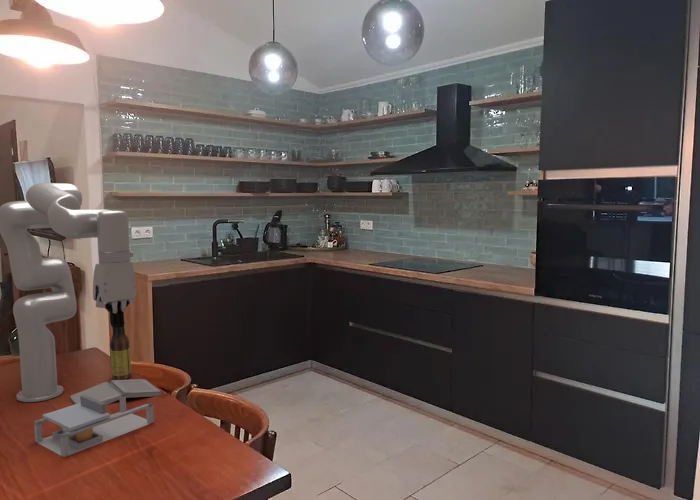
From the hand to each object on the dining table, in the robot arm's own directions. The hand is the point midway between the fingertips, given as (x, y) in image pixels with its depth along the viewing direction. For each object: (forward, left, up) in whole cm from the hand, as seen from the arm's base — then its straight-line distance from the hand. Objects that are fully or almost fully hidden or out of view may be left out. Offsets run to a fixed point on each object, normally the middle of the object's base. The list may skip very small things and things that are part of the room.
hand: (117, 326), depth 143 cm
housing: (0, -7, -27) cm, 28 cm away
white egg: (-3, -12, -26) cm, 29 cm away
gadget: (-21, +11, -28) cm, 37 cm away
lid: (0, -12, -21) cm, 24 cm away
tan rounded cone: (+3, -12, -26) cm, 29 cm away
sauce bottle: (-35, +22, -27) cm, 50 cm away
